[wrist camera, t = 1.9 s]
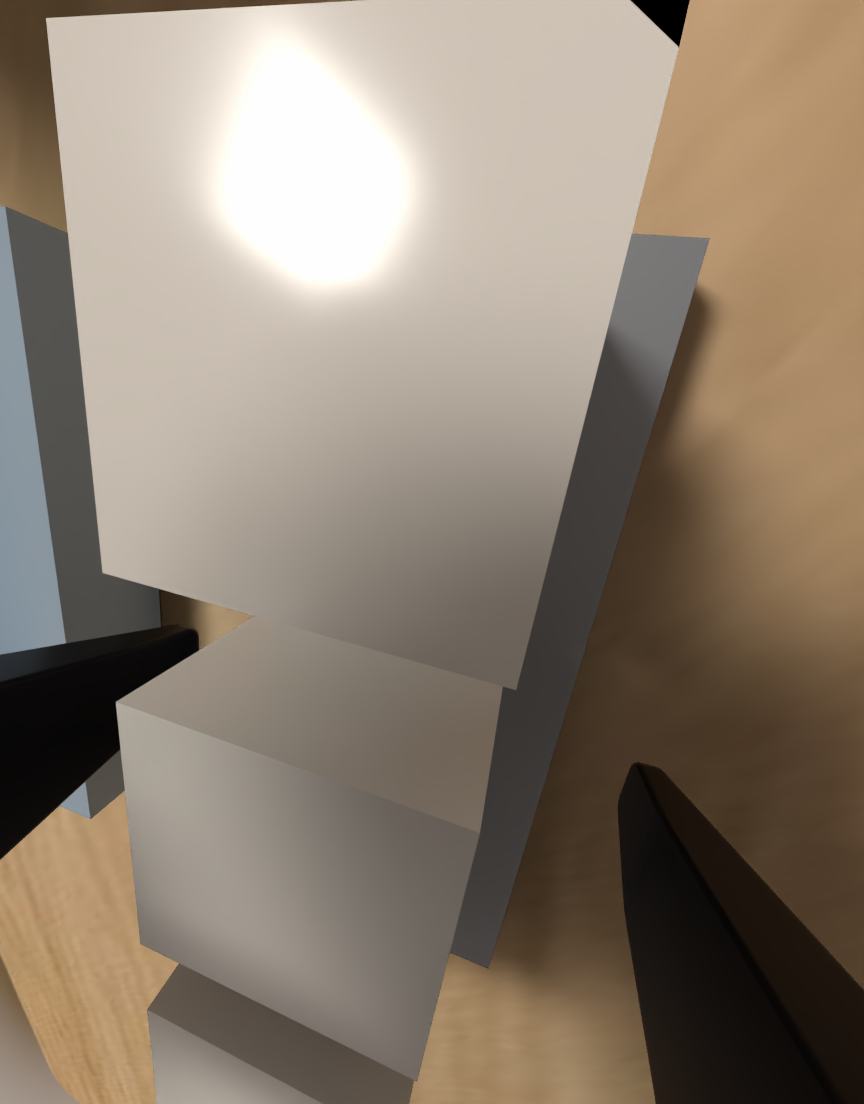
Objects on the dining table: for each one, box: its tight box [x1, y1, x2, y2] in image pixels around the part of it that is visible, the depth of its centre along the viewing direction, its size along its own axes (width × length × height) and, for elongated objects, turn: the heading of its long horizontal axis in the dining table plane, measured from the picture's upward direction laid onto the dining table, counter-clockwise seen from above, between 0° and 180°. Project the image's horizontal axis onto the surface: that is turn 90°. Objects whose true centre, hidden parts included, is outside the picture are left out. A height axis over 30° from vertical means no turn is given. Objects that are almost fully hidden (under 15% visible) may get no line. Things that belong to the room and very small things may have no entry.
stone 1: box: [46, 0, 689, 690], centre depth 5 cm, size 4×4×5 cm
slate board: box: [450, 234, 710, 968], centre depth 10 cm, size 17×7×1 cm, turn 171°
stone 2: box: [116, 616, 503, 1081], centre depth 7 cm, size 4×4×5 cm
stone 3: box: [147, 963, 414, 1104], centre depth 9 cm, size 4×4×5 cm
